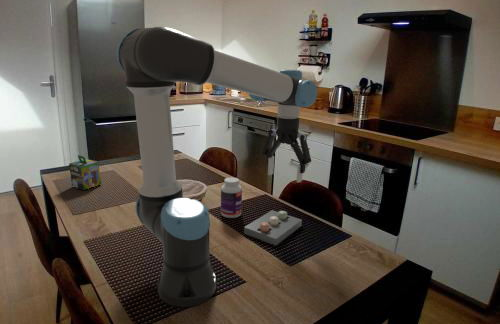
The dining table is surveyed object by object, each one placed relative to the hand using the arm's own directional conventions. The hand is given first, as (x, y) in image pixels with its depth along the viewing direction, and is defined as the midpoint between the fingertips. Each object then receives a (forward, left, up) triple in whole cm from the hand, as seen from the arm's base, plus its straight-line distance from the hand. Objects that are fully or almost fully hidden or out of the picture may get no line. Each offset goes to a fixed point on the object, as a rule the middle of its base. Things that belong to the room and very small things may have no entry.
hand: (284, 177), depth 124 cm
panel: (-6, 0, -18) cm, 19 cm away
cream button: (-6, 0, -16) cm, 17 cm away
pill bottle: (-6, +19, -18) cm, 27 cm away
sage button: (0, 0, -16) cm, 16 cm away
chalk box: (-25, +89, -18) cm, 94 cm away
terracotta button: (-12, 0, -16) cm, 20 cm away
